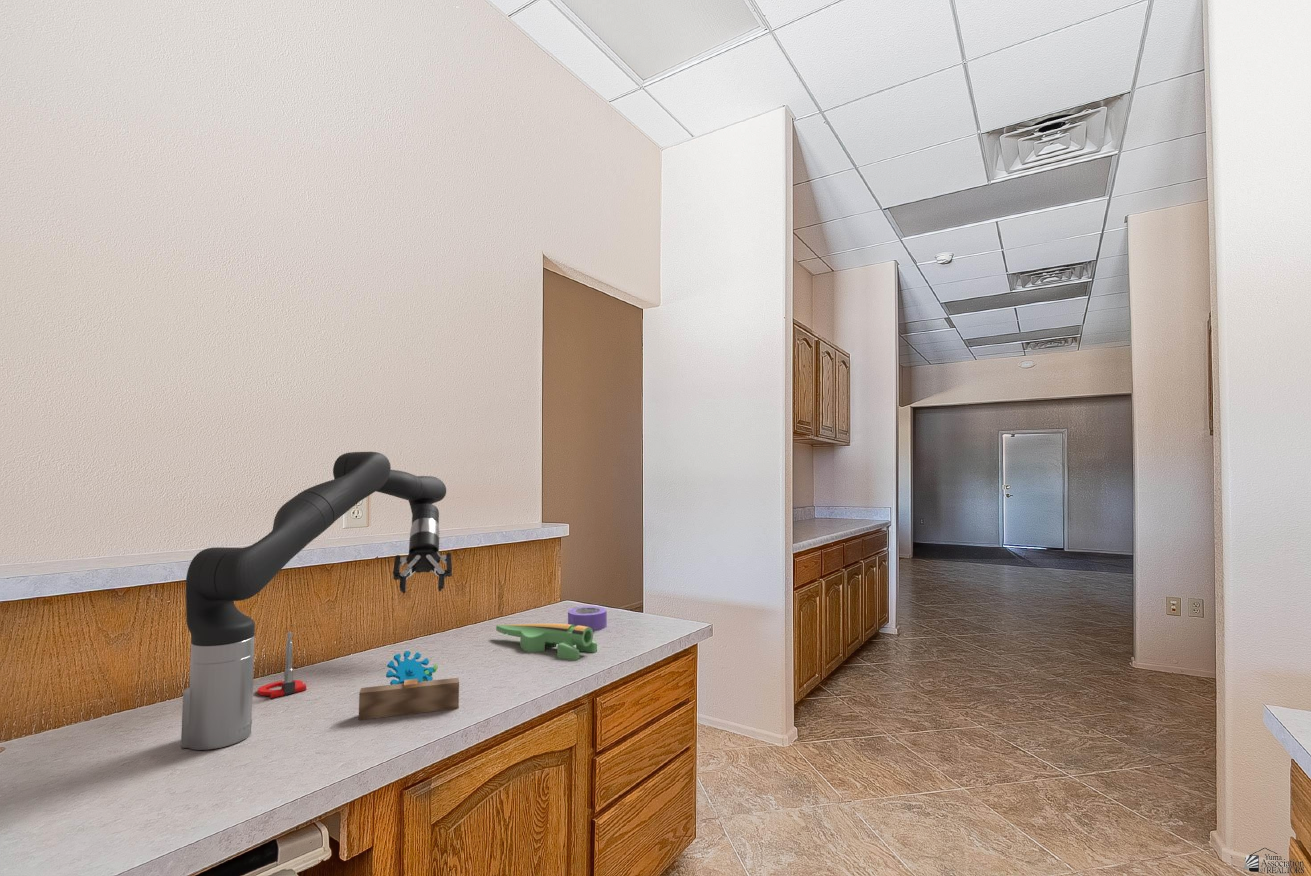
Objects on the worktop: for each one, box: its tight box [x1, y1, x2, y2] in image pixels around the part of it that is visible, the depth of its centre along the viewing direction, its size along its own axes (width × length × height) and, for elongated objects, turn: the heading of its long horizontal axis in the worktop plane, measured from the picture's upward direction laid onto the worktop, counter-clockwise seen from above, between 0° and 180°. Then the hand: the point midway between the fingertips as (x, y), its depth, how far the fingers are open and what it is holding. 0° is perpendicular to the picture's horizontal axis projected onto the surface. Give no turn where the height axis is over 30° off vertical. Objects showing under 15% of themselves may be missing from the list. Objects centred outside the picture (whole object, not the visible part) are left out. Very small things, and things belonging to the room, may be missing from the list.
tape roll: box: [567, 605, 608, 632], centre depth 188 cm, size 12×12×5 cm
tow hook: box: [256, 631, 307, 699], centre depth 133 cm, size 8×13×9 cm
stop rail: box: [358, 677, 460, 721], centre depth 121 cm, size 18×3×6 cm, turn 109°
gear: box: [385, 650, 439, 685], centre depth 134 cm, size 11×6×10 cm
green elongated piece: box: [495, 623, 598, 661], centre depth 166 cm, size 32×10×7 cm, turn 59°
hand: (422, 590), depth 156 cm, fingers open, 8 cm apart
